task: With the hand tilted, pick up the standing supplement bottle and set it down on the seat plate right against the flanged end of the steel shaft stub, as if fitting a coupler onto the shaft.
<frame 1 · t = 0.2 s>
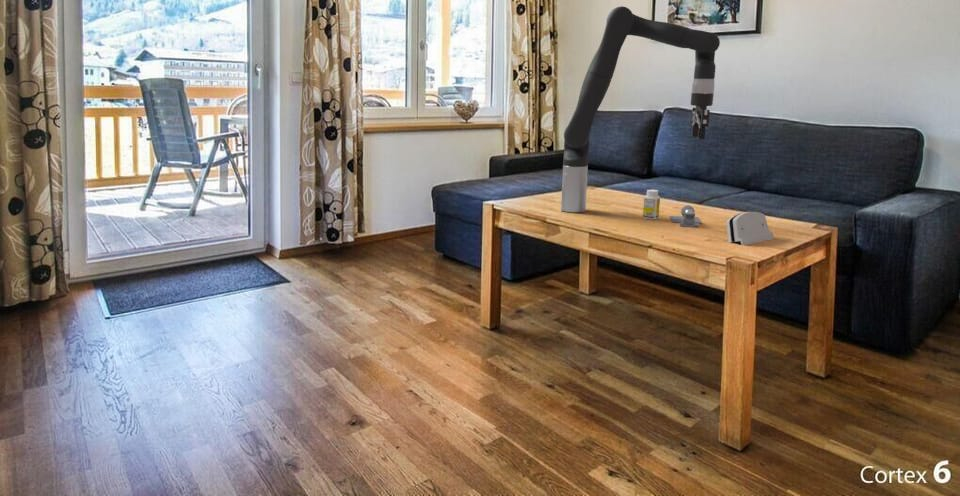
hand: (698, 138, 239), 28 cm above the table, tool pointing down, fingers open, 8 cm apart
grey rounded slab: (747, 240, 210), on the table
shaft stub: (688, 225, 229), on the table
seat plate: (685, 220, 237), on the table
supplement bottle: (650, 218, 240), on the table
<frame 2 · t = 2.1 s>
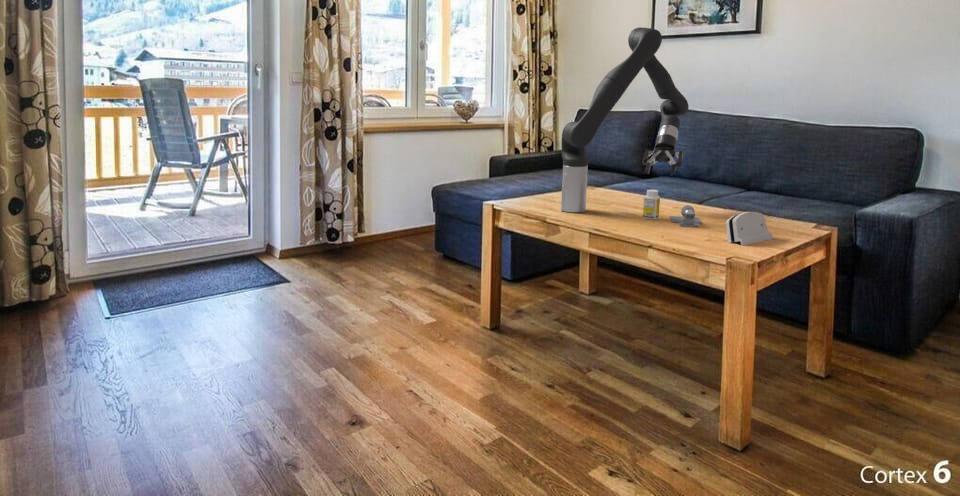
hand: (659, 173, 246), 15 cm above the table, tool tilted 45°, fingers open, 8 cm apart
nothing on the table moved.
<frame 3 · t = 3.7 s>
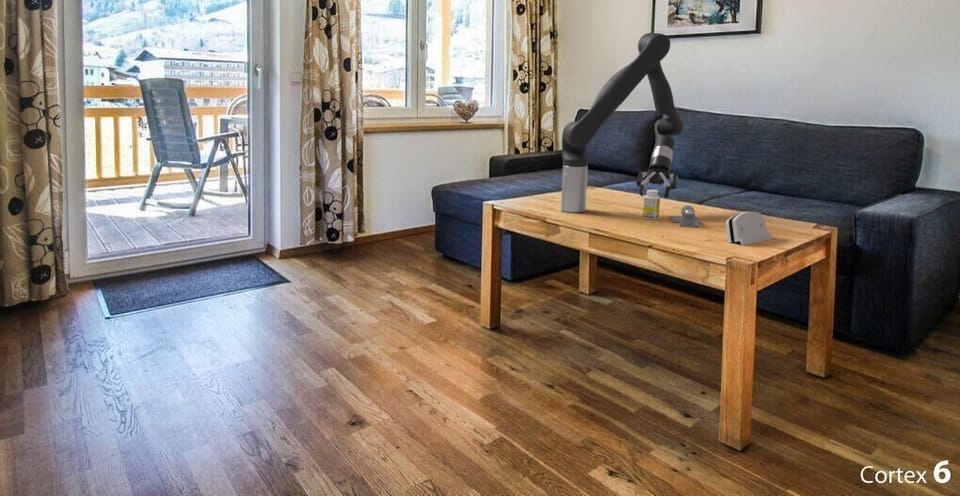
hand: (653, 196, 240), 8 cm above the table, tool tilted 45°, fingers open, 8 cm apart
nothing on the table moved.
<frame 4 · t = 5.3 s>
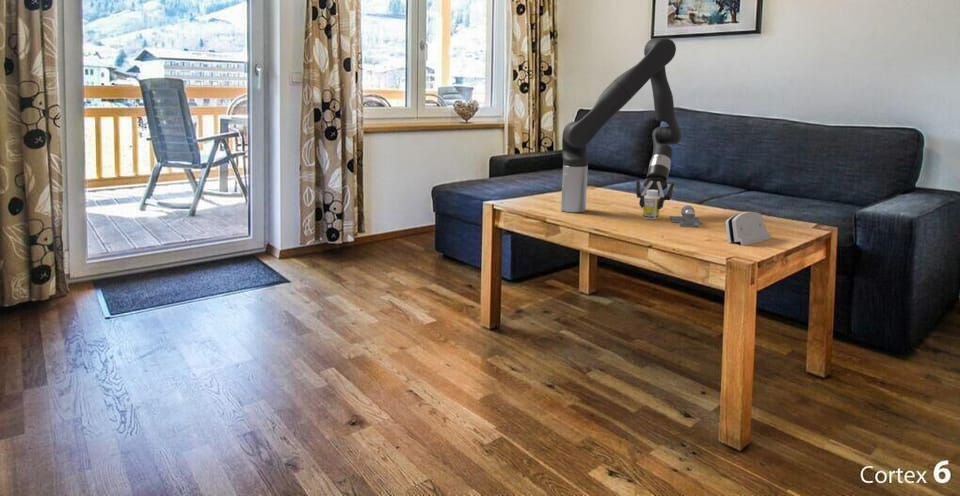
hand: (650, 207, 237), 4 cm above the table, tool tilted 45°, fingers closed on supplement bottle, 5 cm apart
supplement bottle: (650, 218, 240), on the table, touching gripper
everything else where it was.
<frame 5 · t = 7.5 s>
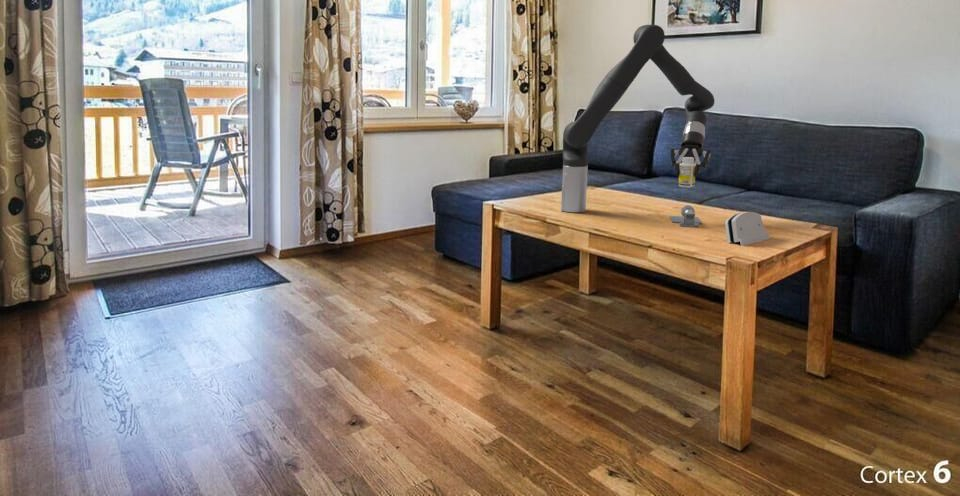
hand: (686, 174, 232), 17 cm above the table, tool tilted 45°, fingers closed on supplement bottle, 5 cm apart
supplement bottle: (686, 187, 234), point 12 cm above the table, touching gripper
everything else where it was.
when the fingers open (5 cm above the table, at t = 10.1 s): supplement bottle stays where it is, resting on seat plate.
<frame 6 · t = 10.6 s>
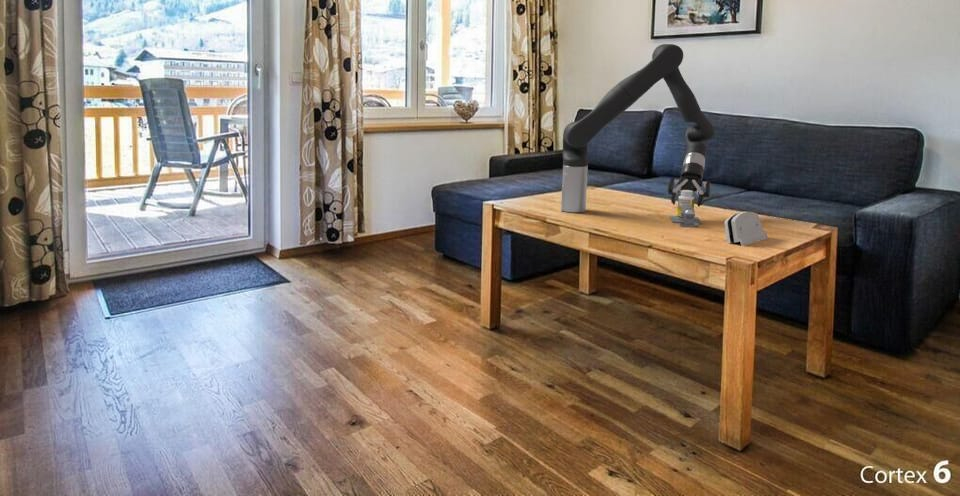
hand: (686, 204, 234), 6 cm above the table, tool tilted 45°, fingers open, 8 cm apart
supplement bottle: (684, 219, 237), resting on seat plate
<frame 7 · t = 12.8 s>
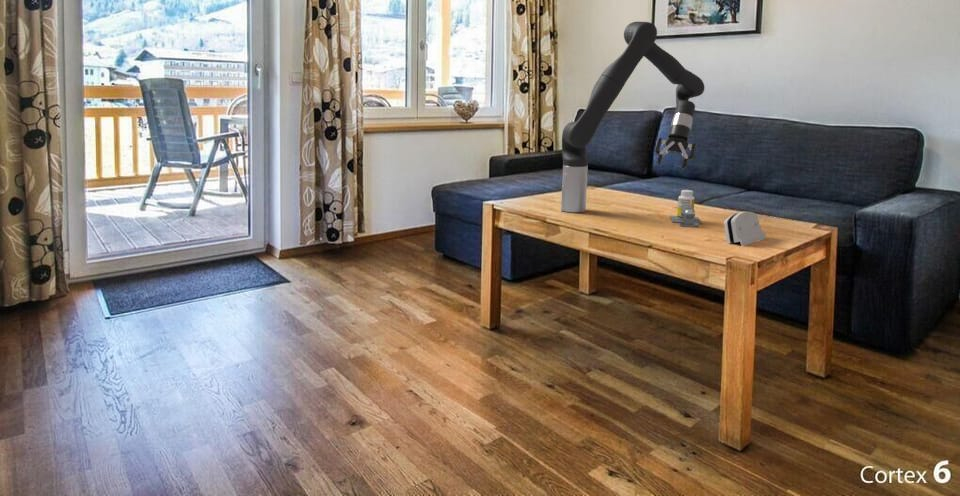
hand: (671, 167, 249), 17 cm above the table, tool tilted 30°, fingers open, 8 cm apart
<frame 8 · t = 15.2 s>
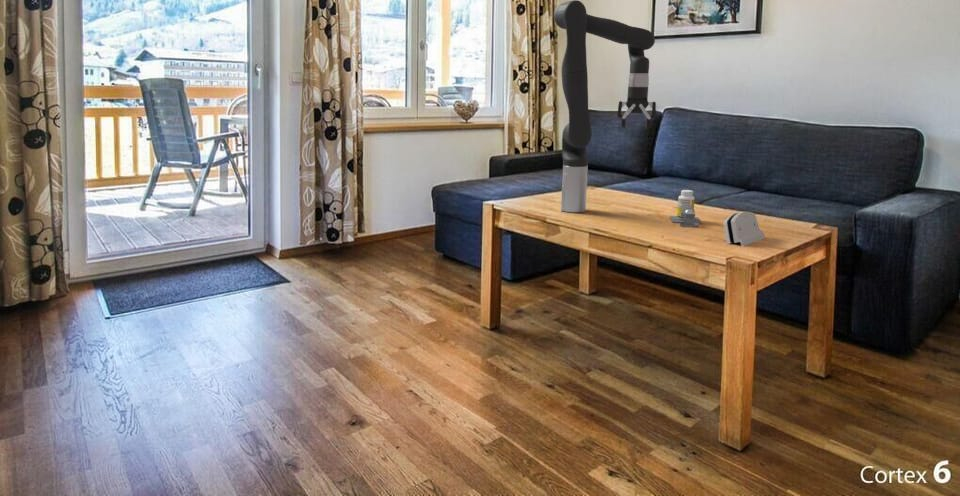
hand: (635, 129, 255), 30 cm above the table, tool pointing down, fingers open, 8 cm apart
at the end: supplement bottle 0.3 cm from the seat plate (horizontally); supplement bottle tilted 0°; supplement bottle resting on seat plate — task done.
